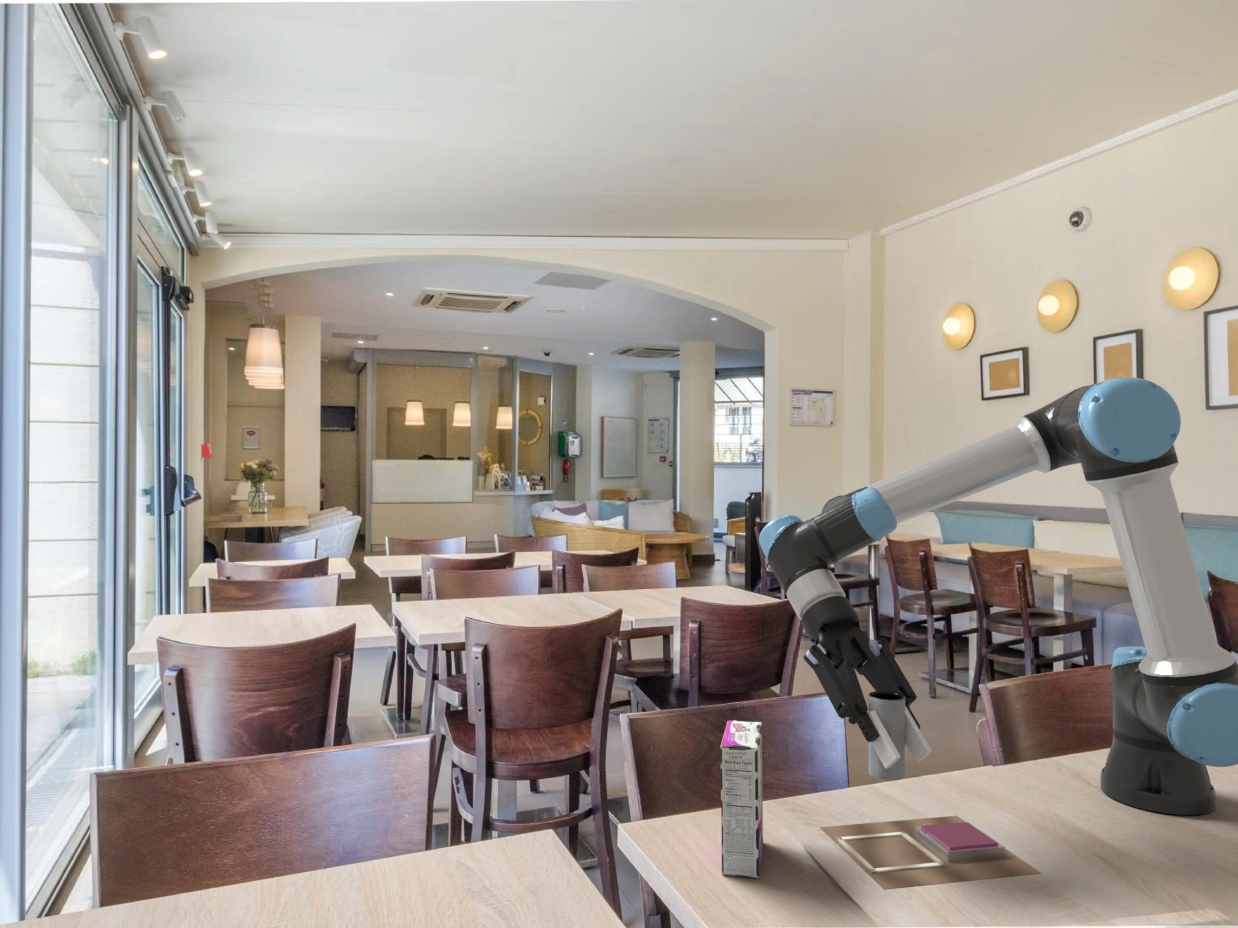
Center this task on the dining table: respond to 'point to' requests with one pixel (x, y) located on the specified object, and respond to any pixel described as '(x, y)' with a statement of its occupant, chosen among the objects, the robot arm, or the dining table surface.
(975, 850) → the ink pad
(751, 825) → the candy bar box
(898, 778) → the gray cylinder
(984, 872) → the walnut board
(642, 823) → the dining table surface
